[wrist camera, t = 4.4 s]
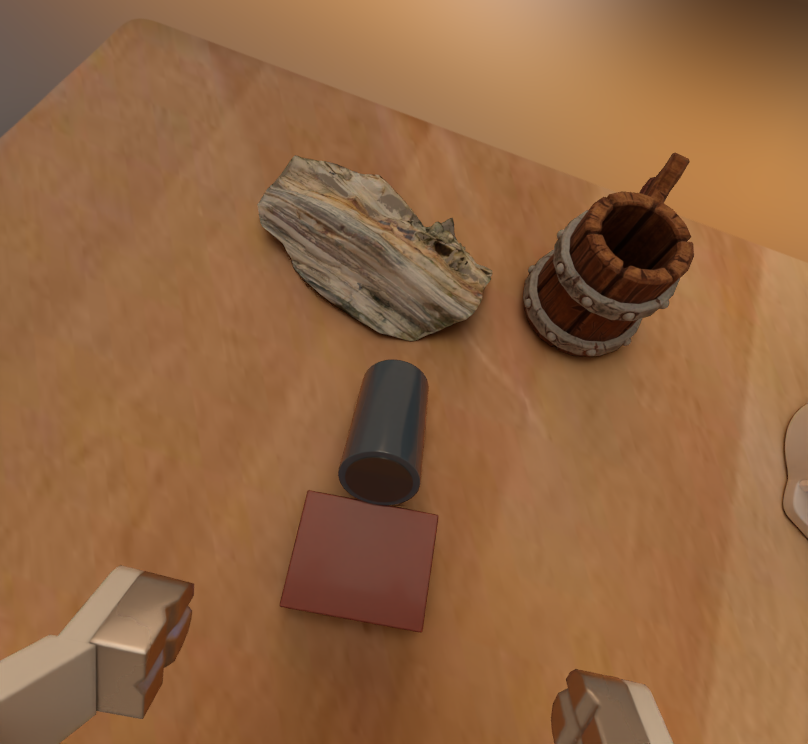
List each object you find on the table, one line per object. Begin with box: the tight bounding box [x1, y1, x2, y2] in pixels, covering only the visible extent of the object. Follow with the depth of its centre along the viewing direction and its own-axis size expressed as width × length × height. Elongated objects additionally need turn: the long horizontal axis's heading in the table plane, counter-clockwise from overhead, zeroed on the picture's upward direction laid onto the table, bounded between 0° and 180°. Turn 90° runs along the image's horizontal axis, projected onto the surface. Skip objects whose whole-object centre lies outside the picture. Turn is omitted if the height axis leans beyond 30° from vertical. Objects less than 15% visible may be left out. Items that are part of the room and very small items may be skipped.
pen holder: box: [338, 360, 429, 505], centre depth 35 cm, size 6×6×10 cm
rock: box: [257, 156, 492, 341], centre depth 44 cm, size 23×7×15 cm
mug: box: [523, 153, 694, 357], centre depth 41 cm, size 12×14×15 cm
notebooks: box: [280, 490, 438, 632], centre depth 34 cm, size 8×10×5 cm
